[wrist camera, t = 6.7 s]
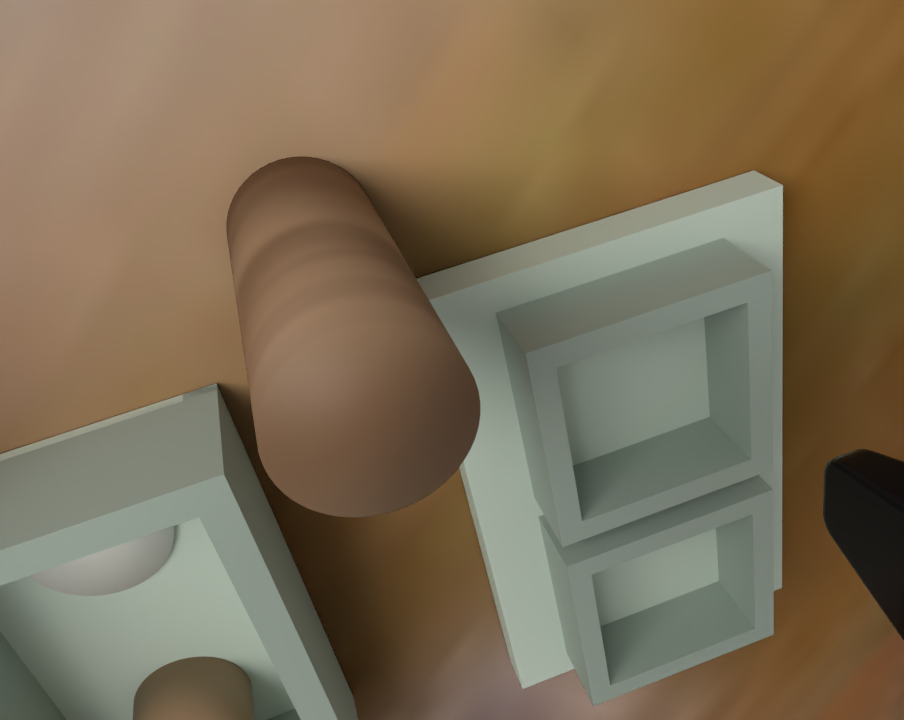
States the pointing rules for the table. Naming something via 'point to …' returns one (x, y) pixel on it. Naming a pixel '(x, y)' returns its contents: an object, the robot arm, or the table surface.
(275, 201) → the dowel
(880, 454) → the robot arm
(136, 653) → the box
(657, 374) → the build board
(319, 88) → the table surface
